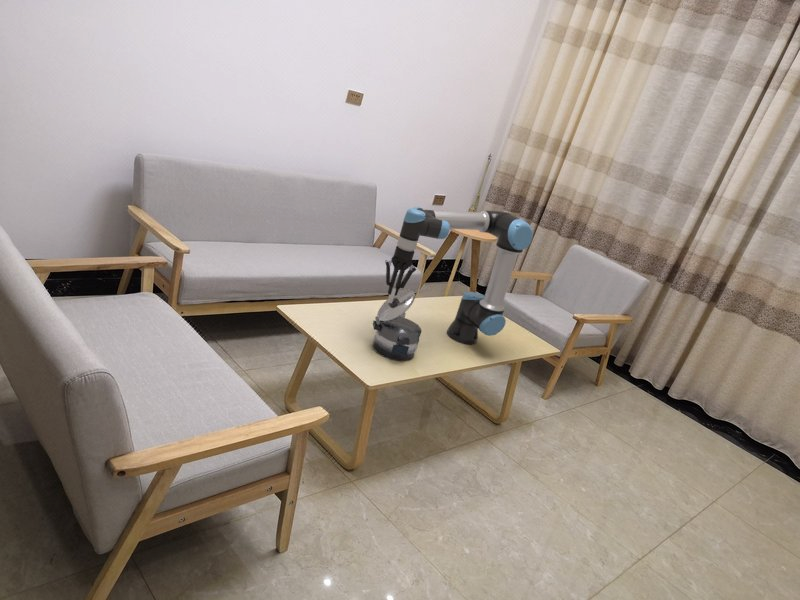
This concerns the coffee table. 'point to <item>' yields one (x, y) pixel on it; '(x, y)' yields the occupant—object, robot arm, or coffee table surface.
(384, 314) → the lid
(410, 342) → the cooker
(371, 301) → the coffee table surface
